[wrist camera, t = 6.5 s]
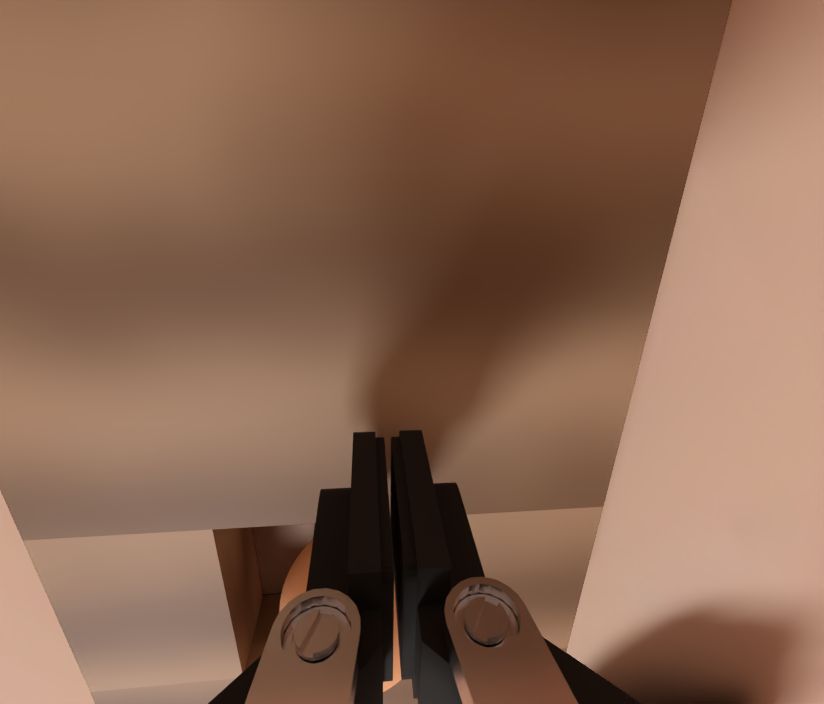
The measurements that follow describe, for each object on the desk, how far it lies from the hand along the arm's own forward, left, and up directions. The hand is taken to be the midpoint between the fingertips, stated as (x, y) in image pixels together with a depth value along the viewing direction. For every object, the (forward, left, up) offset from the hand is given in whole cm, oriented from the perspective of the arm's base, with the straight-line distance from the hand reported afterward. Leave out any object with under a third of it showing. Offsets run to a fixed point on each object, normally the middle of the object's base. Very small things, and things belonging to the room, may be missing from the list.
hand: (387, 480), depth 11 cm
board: (-1, -1, -4) cm, 4 cm away
